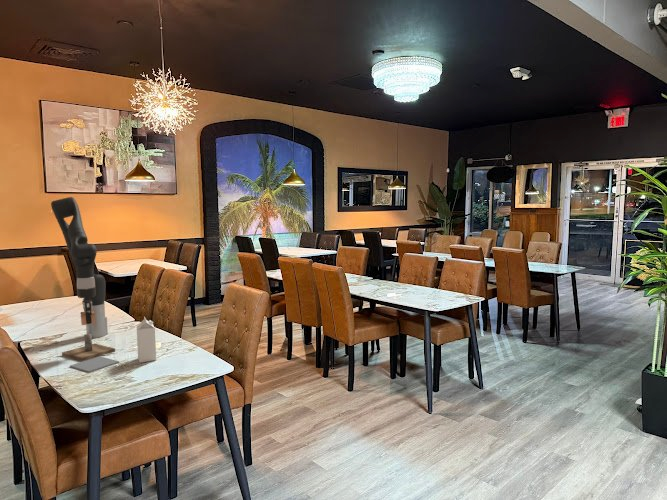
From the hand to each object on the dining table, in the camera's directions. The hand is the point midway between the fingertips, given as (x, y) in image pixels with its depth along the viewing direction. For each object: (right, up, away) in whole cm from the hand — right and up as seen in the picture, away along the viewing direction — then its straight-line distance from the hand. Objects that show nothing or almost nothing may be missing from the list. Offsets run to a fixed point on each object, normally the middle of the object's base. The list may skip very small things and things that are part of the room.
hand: (88, 321), depth 215 cm
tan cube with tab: (0, -1, 0) cm, 1 cm away
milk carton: (+30, -16, -7) cm, 35 cm away
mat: (+10, -17, -14) cm, 24 cm away
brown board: (0, -15, +1) cm, 15 cm away
